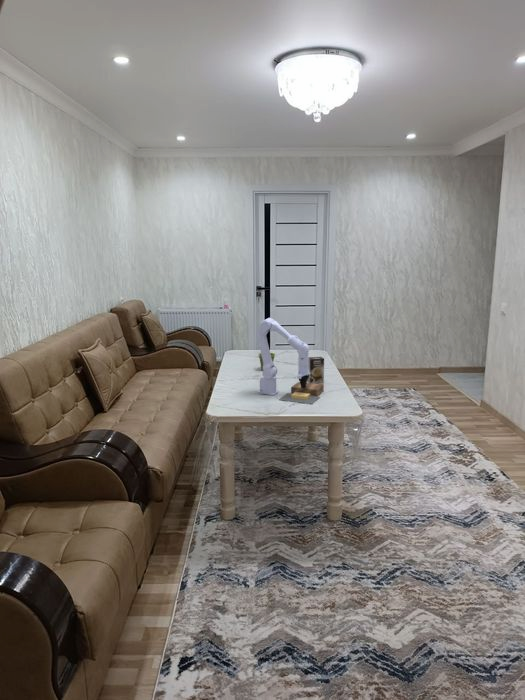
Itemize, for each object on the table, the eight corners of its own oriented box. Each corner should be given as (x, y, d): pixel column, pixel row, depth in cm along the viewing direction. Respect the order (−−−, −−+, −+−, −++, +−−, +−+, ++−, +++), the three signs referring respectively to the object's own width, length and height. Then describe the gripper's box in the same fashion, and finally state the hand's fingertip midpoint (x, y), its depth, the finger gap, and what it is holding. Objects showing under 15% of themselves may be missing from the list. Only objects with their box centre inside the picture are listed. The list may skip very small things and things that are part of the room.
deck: (291, 393, 299) (291, 387, 298) (298, 388, 310) (298, 381, 309) (317, 396, 293) (317, 390, 292) (323, 390, 303) (323, 384, 303)
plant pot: (269, 373, 344) (269, 357, 342) (255, 371, 351) (254, 355, 349) (278, 369, 354) (278, 353, 352) (264, 367, 361) (264, 351, 358)
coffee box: (310, 384, 317) (310, 359, 313) (307, 381, 323) (307, 357, 319) (324, 383, 319) (324, 358, 315) (321, 380, 325) (321, 356, 321)
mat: (278, 400, 288) (278, 399, 288) (287, 393, 300) (287, 392, 300) (312, 404, 280) (312, 403, 279) (320, 397, 291) (320, 396, 291)
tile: (295, 391, 294) (295, 395, 295) (291, 394, 289) (291, 398, 289) (310, 393, 291) (310, 397, 291) (306, 396, 285) (306, 400, 286)
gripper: (305, 368, 283) (305, 392, 286) (314, 362, 296) (314, 385, 299) (293, 367, 286) (293, 390, 289) (302, 361, 299) (302, 384, 302)
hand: (303, 387), depth 294 cm, fingers closed
